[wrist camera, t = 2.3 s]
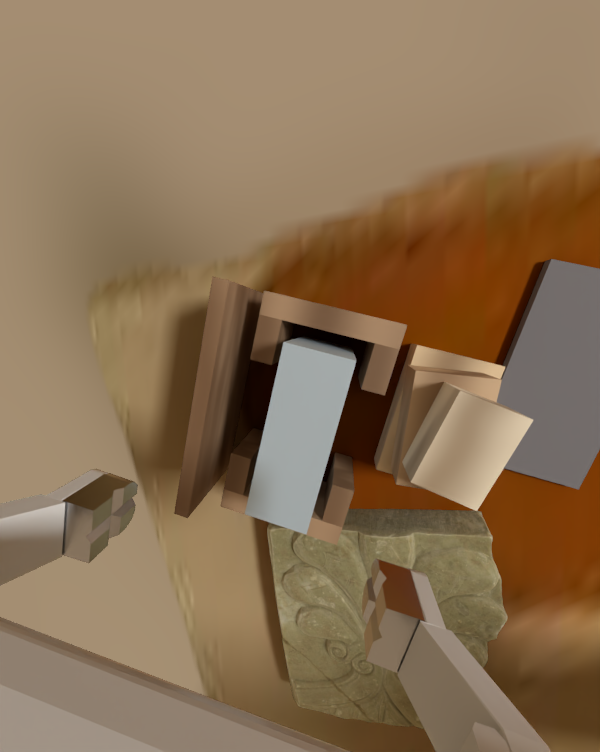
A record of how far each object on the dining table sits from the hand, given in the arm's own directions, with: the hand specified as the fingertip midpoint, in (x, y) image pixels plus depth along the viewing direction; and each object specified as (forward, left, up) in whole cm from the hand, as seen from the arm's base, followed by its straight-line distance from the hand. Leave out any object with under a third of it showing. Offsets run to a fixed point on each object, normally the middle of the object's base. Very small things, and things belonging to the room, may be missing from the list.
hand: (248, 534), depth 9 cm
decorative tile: (-11, +17, -16) cm, 26 cm away
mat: (-17, -7, -15) cm, 24 cm away
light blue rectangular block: (0, 0, -15) cm, 15 cm away
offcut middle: (-9, -2, -13) cm, 16 cm away
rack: (+1, 0, -15) cm, 15 cm away
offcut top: (-10, -2, -11) cm, 15 cm away
